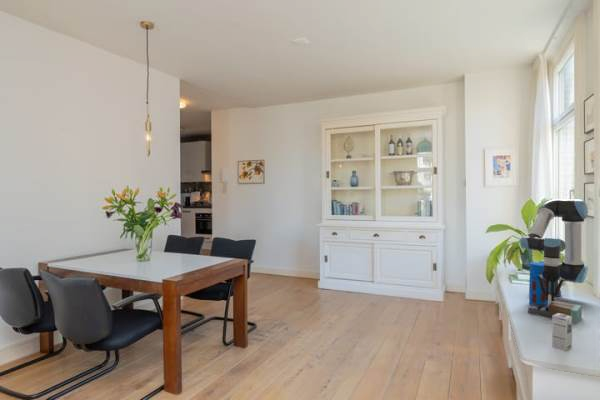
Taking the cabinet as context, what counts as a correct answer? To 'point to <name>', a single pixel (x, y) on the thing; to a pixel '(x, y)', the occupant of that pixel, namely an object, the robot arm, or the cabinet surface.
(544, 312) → the roller bed
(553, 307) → the slab
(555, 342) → the syrup box
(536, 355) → the cabinet surface
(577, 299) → the cabinet surface
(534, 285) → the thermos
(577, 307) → the stop block
